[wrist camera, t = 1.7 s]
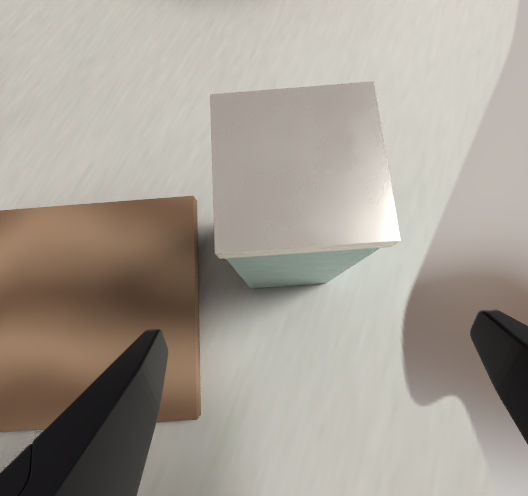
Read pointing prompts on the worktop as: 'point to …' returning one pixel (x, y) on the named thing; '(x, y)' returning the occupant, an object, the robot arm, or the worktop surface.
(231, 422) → the worktop surface
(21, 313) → the walnut board
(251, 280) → the tea tin
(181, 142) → the worktop surface
